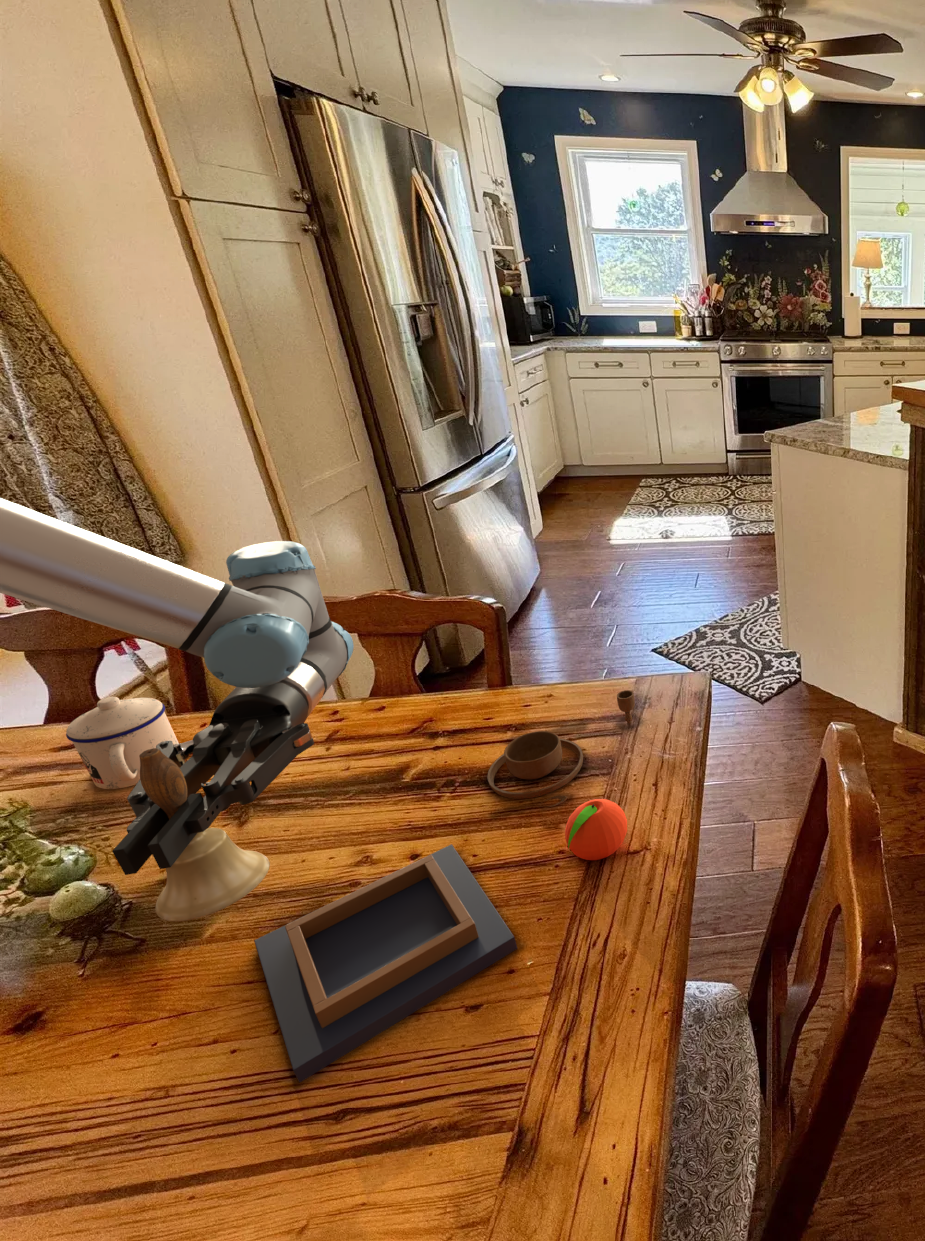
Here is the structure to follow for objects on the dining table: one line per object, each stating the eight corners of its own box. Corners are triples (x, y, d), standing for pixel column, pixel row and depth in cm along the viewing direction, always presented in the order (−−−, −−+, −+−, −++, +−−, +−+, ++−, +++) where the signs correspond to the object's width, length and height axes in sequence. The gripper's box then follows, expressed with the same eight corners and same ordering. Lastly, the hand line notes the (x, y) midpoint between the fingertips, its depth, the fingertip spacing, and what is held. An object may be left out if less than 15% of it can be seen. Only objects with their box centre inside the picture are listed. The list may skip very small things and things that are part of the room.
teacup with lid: (99, 767, 96) (62, 695, 92) (189, 743, 102) (158, 673, 97) (85, 817, 88) (43, 741, 83) (184, 787, 93) (150, 714, 89)
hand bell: (264, 840, 74) (204, 713, 67) (275, 886, 68) (211, 753, 62) (155, 885, 68) (78, 752, 62) (157, 939, 63) (73, 799, 56)
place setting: (494, 746, 103) (486, 712, 101) (638, 718, 110) (633, 686, 108) (484, 827, 88) (475, 790, 86) (650, 788, 96) (646, 753, 93)
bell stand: (262, 957, 71) (247, 925, 70) (456, 859, 84) (447, 830, 82) (302, 1088, 60) (285, 1055, 58) (518, 954, 73) (510, 922, 71)
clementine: (598, 887, 81) (590, 840, 78) (549, 870, 83) (539, 823, 80) (642, 838, 88) (636, 793, 85) (596, 824, 89) (588, 779, 87)
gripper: (354, 723, 84) (261, 873, 63) (202, 743, 80) (49, 911, 59) (336, 669, 81) (232, 808, 60) (177, 687, 77) (7, 843, 56)
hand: (142, 858), depth 60 cm, fingers closed on hand bell, 2 cm apart
